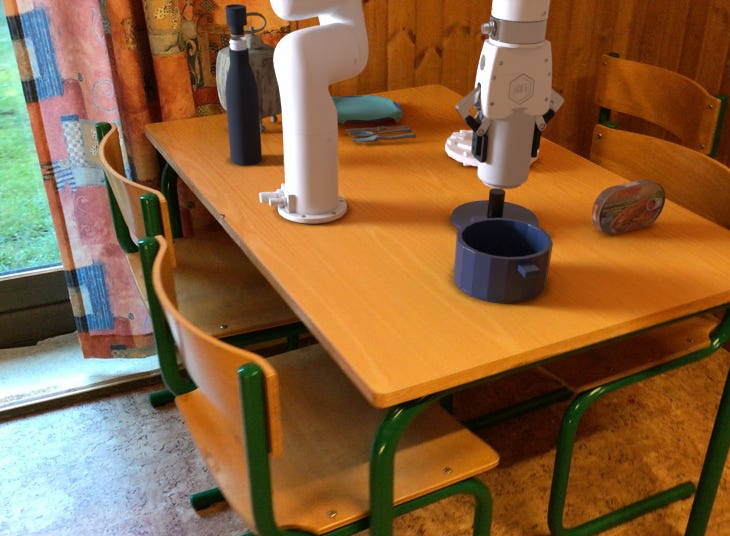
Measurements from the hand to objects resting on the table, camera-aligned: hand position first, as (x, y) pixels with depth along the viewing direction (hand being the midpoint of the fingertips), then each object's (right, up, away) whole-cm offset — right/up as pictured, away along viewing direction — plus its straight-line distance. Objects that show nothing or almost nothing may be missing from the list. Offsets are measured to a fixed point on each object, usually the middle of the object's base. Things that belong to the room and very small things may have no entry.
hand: (504, 156), depth 123 cm
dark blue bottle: (-46, +11, +52) cm, 70 cm away
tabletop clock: (-46, +22, +67) cm, 85 cm away
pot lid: (+2, -5, +28) cm, 29 cm away
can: (0, -3, +2) cm, 4 cm away
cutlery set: (-22, +25, +73) cm, 81 cm away
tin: (+25, -6, +28) cm, 39 cm away
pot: (+1, -17, +11) cm, 20 cm away
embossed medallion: (+5, +14, +58) cm, 60 cm away
